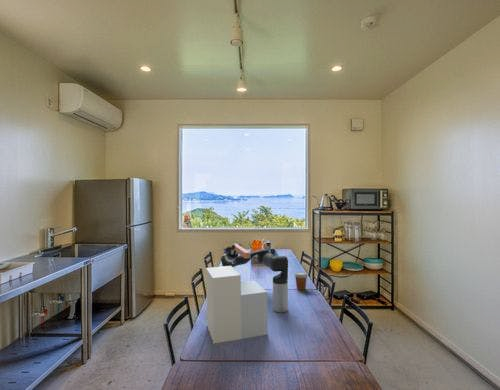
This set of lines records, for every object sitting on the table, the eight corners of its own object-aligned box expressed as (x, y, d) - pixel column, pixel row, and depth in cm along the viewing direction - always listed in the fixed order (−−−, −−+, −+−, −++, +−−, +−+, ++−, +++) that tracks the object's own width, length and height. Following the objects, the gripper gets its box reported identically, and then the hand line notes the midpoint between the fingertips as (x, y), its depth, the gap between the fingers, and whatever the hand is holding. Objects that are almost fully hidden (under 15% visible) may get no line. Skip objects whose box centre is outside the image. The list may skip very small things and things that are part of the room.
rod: (232, 248, 183) (232, 244, 183) (236, 248, 184) (236, 243, 184) (245, 258, 157) (245, 252, 157) (250, 258, 157) (250, 252, 157)
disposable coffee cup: (299, 286, 226) (299, 270, 226) (310, 289, 219) (309, 273, 219) (292, 289, 219) (291, 273, 219) (302, 292, 212) (302, 275, 212)
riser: (206, 326, 160) (206, 267, 160) (255, 318, 169) (254, 263, 169) (213, 343, 141) (212, 278, 141) (267, 334, 150) (266, 272, 150)
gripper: (220, 250, 191) (225, 240, 177) (240, 248, 196) (247, 239, 181) (221, 261, 188) (226, 252, 174) (242, 259, 192) (249, 250, 178)
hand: (237, 245), depth 177 cm, fingers closed on rod, 3 cm apart
